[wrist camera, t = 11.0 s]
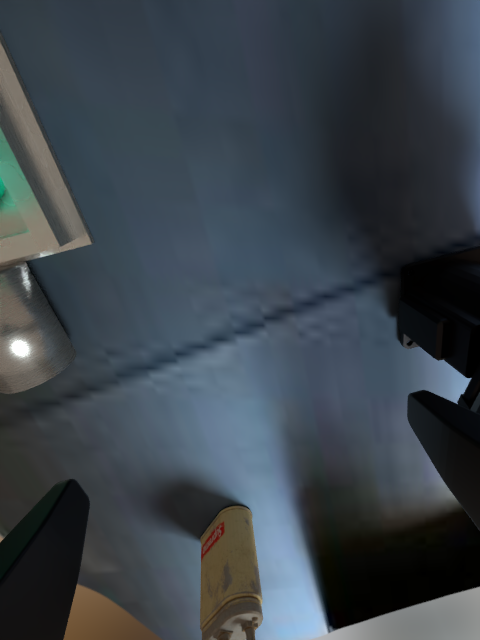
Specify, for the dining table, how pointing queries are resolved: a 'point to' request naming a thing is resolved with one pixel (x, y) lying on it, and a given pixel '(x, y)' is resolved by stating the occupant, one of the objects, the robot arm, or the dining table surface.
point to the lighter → (230, 578)
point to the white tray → (30, 238)
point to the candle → (1, 188)
